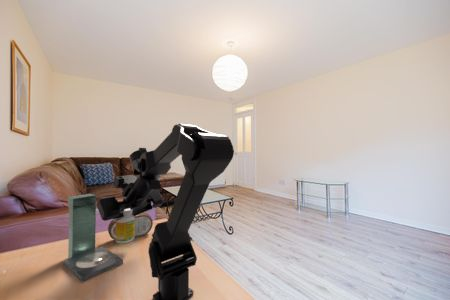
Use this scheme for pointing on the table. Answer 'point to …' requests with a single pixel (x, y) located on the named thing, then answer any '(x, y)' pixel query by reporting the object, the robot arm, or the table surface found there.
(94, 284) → the table surface
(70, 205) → the stand
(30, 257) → the table surface
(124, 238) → the supplement bottle
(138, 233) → the tin
